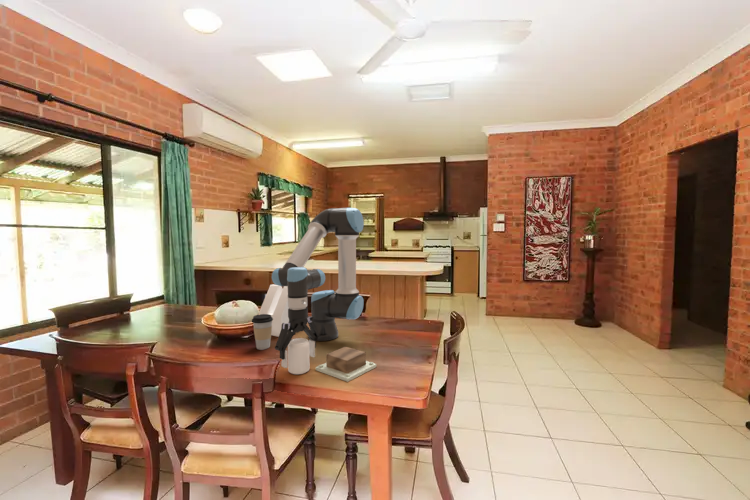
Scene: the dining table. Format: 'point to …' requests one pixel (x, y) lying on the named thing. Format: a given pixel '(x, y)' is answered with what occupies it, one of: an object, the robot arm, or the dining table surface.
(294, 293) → the robot arm
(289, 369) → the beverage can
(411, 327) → the dining table surface
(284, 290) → the white notched block
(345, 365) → the walnut brick
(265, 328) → the coffee cup
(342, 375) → the baseplate
